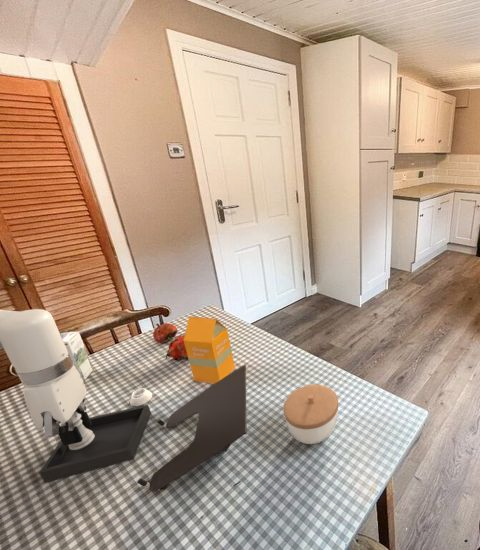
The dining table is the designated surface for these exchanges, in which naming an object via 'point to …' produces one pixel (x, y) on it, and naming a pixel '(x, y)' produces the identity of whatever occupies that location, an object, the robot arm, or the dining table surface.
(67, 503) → the dining table surface
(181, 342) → the dragon fruit
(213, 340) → the orange juice
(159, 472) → the laptop stand
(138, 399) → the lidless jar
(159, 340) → the pomegranate
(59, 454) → the black tray
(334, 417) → the lidded bowl
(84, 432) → the rook chess piece
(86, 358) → the syrup box
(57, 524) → the dining table surface
